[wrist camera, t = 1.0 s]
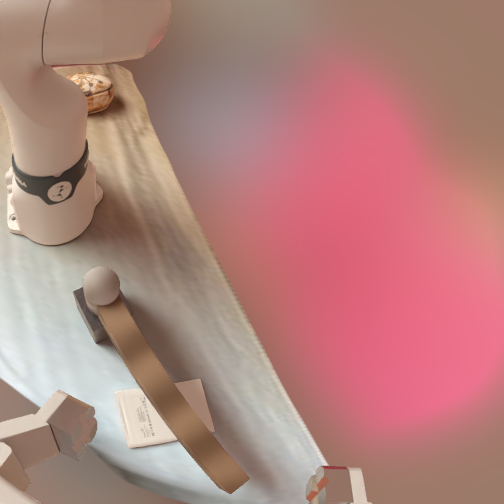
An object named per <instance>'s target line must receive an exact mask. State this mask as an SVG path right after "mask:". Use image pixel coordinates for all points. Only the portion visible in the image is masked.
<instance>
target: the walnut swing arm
mask: <svg viewBox="0 0 504 504" xmlns="http://www.w3.org/2000/svg"><path fill="white" fill-rule="evenodd" d="M83 289H84V295H85V300H86V305H87V307H88V309H89V310H90V312H91V313H93V314H94V315H96V316H98V317H99V319H100V321H101V323H102V325H103V327H104V328H105V330H106V332H107V334H108V336H109V337H110V339H111V341H112V343H113V344H114V346H115V348H116V350H117V351H118V353H119V355H120V356H121V358H122V360H123V361H124V363H125V365H126V366H127V368H128V369H129V371H130V373H131V374H132V376H133V377H134V379H135V380H136V382H137V384H138V385H139V387H140V388H141V390H142V391H143V393H144V394H145V396H146V397H147V398H148V400H149V401H150V403H151V404H152V406H153V407H154V408H155V410H156V411H157V413H158V414H159V415H160V417H161V418H162V420H163V421H164V422H165V424H166V425H167V426H168V428H169V429H170V430H171V432H172V433H173V434H174V435H175V437H176V438H177V439H178V441H179V442H180V443H181V444H182V446H183V447H184V448H185V449H186V451H187V452H188V453H189V454H190V455H191V457H192V458H193V459H194V460H195V461H196V463H197V464H198V465H199V466H200V467H201V468H202V470H203V471H204V472H205V473H206V474H207V475H208V476H209V477H210V479H211V480H212V481H213V482H214V483H215V484H216V485H217V486H218V487H219V488H220V489H222V490H224V491H226V492H227V493H229V494H231V493H233V492H234V491H235V490H237V489H238V488H239V487H240V486H242V485H243V484H244V483H245V482H247V481H248V480H249V479H250V478H249V477H248V475H247V474H246V473H245V472H244V471H243V470H242V469H241V468H240V467H239V465H238V464H237V463H236V462H235V461H234V460H233V459H232V457H231V456H230V455H229V454H228V453H227V452H226V450H225V449H224V448H223V447H222V446H221V444H220V443H219V442H218V441H217V440H216V438H215V437H214V436H213V435H212V433H211V432H210V431H209V430H208V428H207V427H206V426H205V425H204V423H203V422H202V421H201V419H200V418H199V417H198V415H197V414H196V413H195V412H194V410H193V409H192V408H191V406H190V405H189V403H188V402H187V401H186V399H185V398H184V397H183V395H182V394H181V392H180V391H179V390H178V388H177V387H176V385H175V384H174V383H173V381H172V380H171V378H170V377H169V375H168V374H167V372H166V371H165V369H164V368H163V366H162V365H161V363H160V362H159V360H158V359H157V357H156V356H155V354H154V353H153V351H152V349H151V348H150V346H149V345H148V343H147V342H146V340H145V338H144V337H143V335H142V333H141V332H140V330H139V329H138V327H137V325H136V324H135V322H134V320H133V318H132V317H131V315H130V313H129V312H128V310H127V308H126V306H125V305H124V303H123V301H122V299H121V297H120V296H119V291H120V281H119V278H118V276H117V274H116V273H115V272H114V271H113V270H111V269H109V268H107V267H95V268H93V269H91V270H90V271H88V272H87V274H86V275H85V277H84V279H83Z"/></svg>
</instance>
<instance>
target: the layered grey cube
mask: <svg viewBox="0 0 504 504" xmlns="http://www.w3.org/2000/svg"><path fill="white" fill-rule="evenodd" d="M73 293H74V297H75V300H76V304H77V308H78V310H79V312H80V314H81V316H82V318H83V320H84V322H85V324H86V326H87V328H88V330H89V332H90V334H91V335H92V337H93V339H94V341H95V343H98V342H100V341H102V340H104V339H106V338H108V337H109V336H108V334H107V332H106V330H105V328H104V327H103V325H102V323H101V321H100V319H99V317H98V316H96V315H94V314H93V313H91V312H90V310H89V309H88V307H87V305H86V300H85V295H84V289H83V287H82V288H80V289H78V290H76V291H73ZM119 296H120V297H121V299H122V301H123V303H124V305H125V306H126V308H127V310H128V312H129V313H130V315H131V317H132V314H133V311H132V309H131V308H130V306H129V304H128V302H127V301H126V299H125V297H124V295H123V294H122V292H121V290H120V291H119Z"/></svg>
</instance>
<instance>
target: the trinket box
mask: <svg viewBox="0 0 504 504" xmlns="http://www.w3.org/2000/svg"><path fill="white" fill-rule="evenodd" d="M66 78H68V79H70V80H72V81H73V82H75V83H76V84H77V85H78V86H79V87H80V88H81V90H82V91H83V93H84V94H85V96H86V99H87V102H88V114H91V113H96V112H100V111H102V110H104V109H106V108H107V107H108V106H109V104H110V102H111V101H112V99H113V96H114V87H113V84H112V83H111V81H110V80H109V79H107V78H106V77H103V76H101V75H97V74H92V73H91V72H82V73H79V74H75V75H71V76H68V77H66Z"/></svg>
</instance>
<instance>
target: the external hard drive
mask: <svg viewBox="0 0 504 504" xmlns="http://www.w3.org/2000/svg"><path fill="white" fill-rule="evenodd" d="M174 384H175V385H176V387H177V388H178V390H179V391H180V392H181V394H182V395H183V397H184V398H185V399H186V401H187V402H188V403H189V405H190V406H191V408H192V409H193V410H194V412H195V413H196V414H197V415H198V417H199V418H200V419H201V421H202V422H203V423H204V425H205V426H206V427H207V428H208V430H209V431H210V432H211V433H212V432H215V429H214V425H213V422H212V418H211V415H210V412H209V408H208V404H207V401H206V397H205V393H204V390H203V386H202V383H201V379H195V380H189V381H183V382H178V383H174ZM115 395H116V400H117V404H118V409H119V413H120V417H121V421H122V425H123V429H124V433H125V437H126V440H127V444H128V447H129V448H135V447H142V446H148V445H154V444H160V443H166V442H171V441H176V440H178V439H177V438H176V437H175V435H174V434H173V433H172V432H171V430H170V429H169V428H168V426H167V425H166V424H165V422H164V421H163V420H162V418H161V417H160V415H159V414H158V413H157V411H156V410H155V408H154V407H153V406H152V404H151V403H150V401H149V400H148V398H147V397H146V396H145V394H144V393H143V391H142V390H141V388H138V389H130V390H122V391H115Z"/></svg>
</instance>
